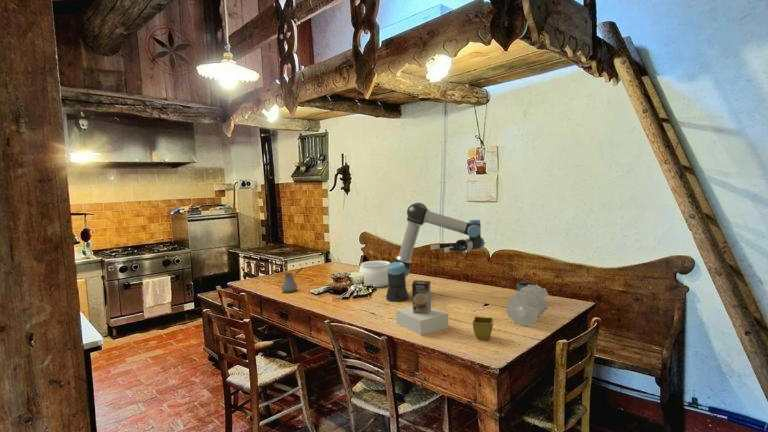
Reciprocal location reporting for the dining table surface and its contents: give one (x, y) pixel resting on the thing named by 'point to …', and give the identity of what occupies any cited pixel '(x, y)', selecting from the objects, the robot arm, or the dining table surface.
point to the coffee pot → (289, 282)
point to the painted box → (422, 320)
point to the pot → (375, 272)
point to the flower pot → (482, 327)
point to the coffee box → (421, 297)
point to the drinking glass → (523, 285)
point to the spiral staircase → (527, 305)
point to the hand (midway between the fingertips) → (437, 248)
